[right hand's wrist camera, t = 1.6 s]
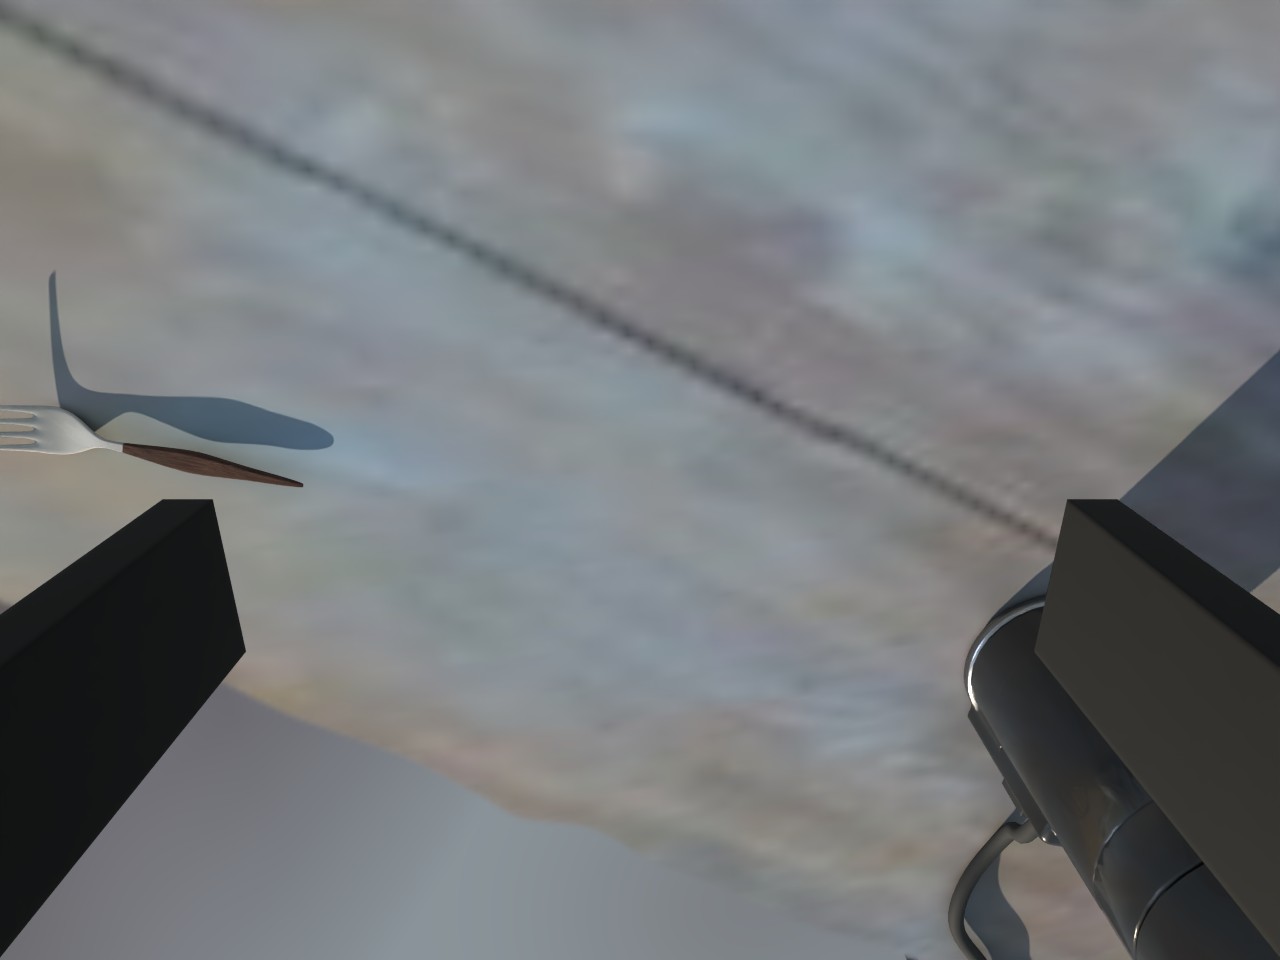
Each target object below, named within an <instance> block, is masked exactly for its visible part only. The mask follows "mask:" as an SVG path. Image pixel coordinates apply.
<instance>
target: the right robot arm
mask: <svg viewBox="0 0 1280 960" xmlns="http://www.w3.org/2000/svg"><path fill="white" fill-rule="evenodd" d="M245 652H246V650H245V645H244V640H243V636H242V631H241V627H240V622H239V618H238V613H237V608H236V604H235V599H234V595H233V590H232V586H231V581H230V576H229V572H228V567H227V563H226V558H225V553H224V549H223V544H222V540H221V535H220V531H219V526H218V521H217V517H216V512H215V508H214V503H213V499H163V500H161V501H160V502H158V503H157V504H156V505H154V506H153V507H151V508H150V509H149V510H147V511H146V512H144V513H143V514H142V515H140V516H139V517H137V518H136V519H134V520H133V521H132V522H130V523H129V524H127V525H126V526H125V527H123V528H122V529H120V530H119V531H118V532H116V533H115V534H113V535H112V536H110V537H109V538H108V539H106V540H105V541H103V542H102V543H101V544H99V545H98V546H96V547H95V548H94V549H92V550H91V551H89V552H88V553H87V554H85V555H84V556H82V557H81V558H79V559H78V560H77V561H75V562H74V563H72V564H71V565H70V566H68V567H67V568H65V569H64V570H63V571H61V572H60V573H58V574H57V575H55V576H54V577H53V578H51V579H50V580H48V581H47V582H46V583H44V584H43V585H41V586H40V587H39V588H37V589H36V590H34V591H33V592H31V593H30V594H29V595H27V596H26V597H24V598H23V599H22V600H20V601H19V602H17V603H16V604H15V605H13V606H12V607H10V608H9V609H7V610H6V611H5V612H3V613H2V614H0V957H1V956H2V954H3V953H4V952H5V951H6V949H7V948H8V947H9V946H10V944H11V943H12V942H13V941H14V939H15V938H16V937H17V936H18V934H19V933H20V932H21V931H22V930H23V928H24V927H25V926H26V925H27V923H28V922H29V921H30V920H31V918H32V917H33V916H34V915H35V913H36V912H37V911H38V910H39V908H40V907H41V906H42V905H43V903H44V902H45V901H46V900H47V898H48V897H49V896H50V895H51V893H52V892H53V891H54V890H55V888H56V887H57V886H58V885H59V883H60V882H61V881H62V880H63V878H64V877H65V876H66V875H67V873H68V872H69V871H70V870H71V869H72V867H73V866H74V865H75V863H76V862H77V861H78V860H79V859H80V857H81V856H82V855H83V854H84V852H85V851H86V850H87V849H88V847H89V846H90V845H91V844H92V842H93V841H94V840H95V839H96V837H97V836H98V835H99V834H100V832H101V831H102V830H103V829H104V827H105V826H106V825H107V824H108V822H109V821H110V820H111V819H112V818H113V816H114V815H115V814H116V812H117V811H118V810H119V809H120V808H121V806H122V805H123V804H124V803H125V801H126V800H127V799H128V798H129V796H130V795H131V794H132V793H133V791H134V790H135V789H136V788H137V786H138V785H139V784H140V783H141V781H142V780H143V779H144V778H145V776H146V775H147V774H148V773H149V771H150V770H151V769H152V768H153V767H154V765H155V764H156V763H157V761H158V760H159V759H160V758H161V757H162V755H163V754H164V753H165V752H166V750H167V749H168V748H169V747H170V745H171V744H172V743H173V742H174V740H175V739H176V738H177V737H178V735H179V734H180V733H181V732H182V730H183V729H184V728H185V727H186V725H187V724H188V723H189V722H190V720H191V719H192V718H193V717H194V716H195V714H196V713H197V712H198V710H199V709H200V708H201V707H202V706H203V704H204V703H205V702H206V701H207V699H208V698H209V697H210V696H211V694H212V693H213V692H214V691H215V689H216V688H217V687H218V686H219V684H220V683H221V682H222V681H223V679H224V678H225V677H226V676H227V674H228V673H229V672H230V671H231V669H232V668H233V667H234V666H235V664H236V663H237V662H238V661H239V660H240V658H241V657H242V656H243V655H244V653H245ZM1034 652H1035V653H1036V655H1037V656H1038V657H1039V658H1040V660H1041V661H1042V662H1043V663H1044V664H1045V666H1046V667H1047V668H1048V669H1049V671H1050V672H1051V673H1052V674H1053V676H1054V677H1055V678H1056V679H1057V681H1058V682H1059V683H1060V684H1061V686H1062V687H1063V688H1064V689H1065V691H1066V692H1067V693H1068V694H1069V696H1070V697H1071V698H1072V699H1073V701H1074V702H1075V703H1076V704H1077V706H1078V707H1079V708H1080V709H1081V711H1082V712H1083V713H1084V714H1085V716H1086V717H1087V718H1088V719H1089V720H1090V722H1091V723H1092V724H1093V725H1094V727H1095V728H1096V729H1097V730H1098V732H1099V733H1100V734H1101V735H1102V737H1103V738H1104V739H1105V740H1106V742H1107V743H1108V744H1109V745H1110V747H1111V748H1112V749H1113V750H1114V752H1115V753H1116V754H1117V755H1118V757H1119V758H1120V759H1121V760H1122V762H1123V763H1124V764H1125V765H1126V767H1127V768H1128V769H1129V770H1130V771H1131V773H1132V774H1133V775H1134V776H1135V778H1136V779H1137V780H1138V781H1139V783H1140V784H1141V785H1142V786H1143V788H1144V789H1145V790H1146V791H1147V793H1148V794H1149V795H1150V796H1151V798H1152V799H1153V800H1154V801H1155V803H1156V804H1157V805H1158V806H1159V808H1160V809H1161V810H1162V811H1163V813H1164V814H1165V815H1166V816H1167V818H1168V819H1169V820H1170V821H1171V823H1172V824H1173V825H1174V826H1175V827H1176V829H1177V830H1178V831H1179V832H1180V834H1181V835H1182V836H1183V837H1184V839H1185V840H1186V841H1187V842H1188V844H1189V845H1190V846H1191V847H1192V849H1193V850H1194V851H1195V852H1196V854H1197V855H1198V856H1199V857H1200V859H1201V860H1202V861H1203V862H1204V864H1205V865H1206V866H1207V867H1208V869H1209V870H1210V871H1211V872H1212V874H1213V875H1214V876H1215V877H1216V879H1217V880H1218V881H1219V882H1220V883H1221V885H1222V886H1223V887H1224V888H1225V890H1226V891H1227V892H1228V893H1229V895H1230V896H1231V897H1232V898H1233V900H1234V901H1235V902H1236V903H1237V905H1238V906H1239V907H1240V908H1241V910H1242V911H1243V912H1244V913H1245V915H1246V916H1247V917H1248V918H1249V920H1250V921H1251V922H1252V923H1253V925H1254V926H1255V927H1256V928H1257V930H1258V931H1259V932H1260V933H1261V934H1262V936H1263V937H1264V938H1265V939H1266V941H1267V942H1268V943H1269V944H1270V946H1271V947H1272V948H1273V949H1274V951H1275V952H1276V953H1277V954H1278V956H1279V957H1280V614H1278V613H1277V612H1275V611H1274V610H1273V609H1271V608H1270V607H1268V606H1267V605H1265V604H1264V603H1263V602H1261V601H1260V600H1258V599H1257V598H1256V597H1254V596H1253V595H1251V594H1250V593H1249V592H1247V591H1246V590H1244V589H1243V588H1241V587H1240V586H1239V585H1237V584H1236V583H1234V582H1233V581H1232V580H1230V579H1229V578H1227V577H1226V576H1225V575H1223V574H1222V573H1220V572H1219V571H1217V570H1216V569H1215V568H1213V567H1212V566H1210V565H1209V564H1208V563H1206V562H1205V561H1203V560H1202V559H1201V558H1199V557H1198V556H1196V555H1195V554H1193V553H1192V552H1191V551H1189V550H1188V549H1186V548H1185V547H1184V546H1182V545H1181V544H1179V543H1178V542H1177V541H1175V540H1174V539H1172V538H1171V537H1170V536H1168V535H1167V534H1165V533H1164V532H1162V531H1161V530H1160V529H1158V528H1157V527H1155V526H1154V525H1153V524H1151V523H1150V522H1148V521H1147V520H1146V519H1144V518H1143V517H1141V516H1140V515H1138V514H1137V513H1136V512H1134V511H1133V510H1131V509H1130V508H1129V507H1127V506H1126V505H1124V504H1123V503H1122V502H1120V501H1119V500H1117V499H1067V503H1066V508H1065V512H1064V517H1063V521H1062V526H1061V531H1060V535H1059V540H1058V544H1057V549H1056V553H1055V558H1054V563H1053V567H1052V572H1051V576H1050V581H1049V586H1048V590H1047V595H1046V599H1045V604H1044V608H1043V613H1042V618H1041V622H1040V627H1039V631H1038V636H1037V640H1036V645H1035V650H1034Z"/></svg>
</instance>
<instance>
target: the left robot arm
mask: <svg viewBox="0 0 1280 960" xmlns="http://www.w3.org/2000/svg"><path fill="white" fill-rule="evenodd" d="M1045 599H1046V596H1044V597H1038V598H1035V599H1031V600H1028V601H1025V602H1023V603H1020V604H1018V605H1016V606H1014V607H1012V608H1010V609H1008V610H1006V611H1005V612H1003V613H1002V614H1000V615H999V616H998V617H996V618H995V619H994V620H993V621H991V622H990V623H989V624H988V625H987V626H986V627H985V628H984V629H983V631H982V632H981V633H980V634H979V636H978V637H977V638H976V640H975V641H974V643H973V645H972V647H971V649H970V651H969V653H968V656H967V659H966V663H965V668H964V683H965V688H966V692H967V694H968V697H969V699H970V701H971V702H972V706H971V709H970V711H969V714H968V718H969V720H970V721H971V723H972V725H973V726H974V728H975V730H976V732H977V733H978V735H979V737H980V738H981V740H982V742H983V743H984V745H985V747H986V749H987V750H988V752H989V754H990V755H991V757H992V759H993V760H994V762H995V764H996V765H997V767H998V769H999V771H1000V772H1001V774H1002V776H1003V777H1004V780H1003V782H1002V784H1003V786H1004V788H1005V789H1006V791H1007V793H1008V795H1009V796H1010V798H1011V800H1012V801H1013V803H1014V805H1015V807H1016V808H1017V810H1018V812H1019V814H1020V815H1021V816H1027V818H1028V820H1027V821H1026V822H1025V823H1024V824H1022V825H1020V824H1018V823H1016V822H1010V823H1006V824H1005V825H1004V826H1003V827H1001V828H1000V829H999V830H998V831H997V832H996V833H995V834H994V835H993V836H992V838H991V839H990V840H989V841H988V842H987V843H986V844H985V845H984V846H983V847H982V849H981V850H980V851H979V852H978V853H977V855H976V856H975V857H974V858H973V860H972V861H971V862H970V864H969V865H968V867H967V868H966V870H965V871H964V873H963V875H962V876H961V878H960V880H959V882H958V884H957V886H956V888H955V891H954V893H953V895H952V899H951V902H950V907H949V912H948V922H949V927H950V930H951V933H952V935H953V938H954V940H955V942H956V943H957V945H958V947H959V948H960V949H961V951H962V952H963V953H964V954H965V956H966V957H967V958H968V959H969V960H987V959H986V958H985V957H984V955H983V954H982V953H981V952H980V950H979V949H978V948H977V947H976V946H975V944H974V943H973V942H972V940H971V939H970V938H969V936H968V935H967V933H966V931H965V927H964V913H965V908H966V905H967V901H968V899H969V897H970V894H971V892H972V890H973V888H974V886H975V885H976V883H977V881H978V880H979V878H980V877H981V875H982V874H983V873H984V871H985V870H986V869H987V867H988V866H989V865H990V864H991V863H992V861H993V860H994V859H995V858H996V857H997V856H998V855H999V854H1000V853H1001V852H1002V851H1003V850H1004V849H1005V848H1006V847H1007V846H1008V845H1009V844H1010V843H1011V842H1012V841H1013V840H1015V841H1017V842H1019V843H1029V842H1031V841H1033V840H1034V839H1035V838H1037V837H1039V838H1040V839H1041V840H1042V841H1044V842H1045V843H1047V844H1050V845H1055V846H1061V847H1063V849H1064V850H1065V852H1066V854H1067V855H1068V857H1069V858H1070V860H1071V862H1072V863H1073V865H1074V867H1075V868H1076V870H1077V871H1078V873H1079V875H1080V876H1081V878H1082V880H1083V881H1084V883H1085V884H1086V886H1087V888H1088V889H1089V891H1090V892H1091V894H1092V896H1093V897H1094V899H1095V901H1096V902H1097V904H1098V905H1099V907H1100V909H1101V910H1102V911H1103V913H1104V915H1105V916H1106V918H1107V920H1108V921H1109V923H1110V924H1111V926H1112V928H1113V929H1114V931H1115V933H1116V934H1117V936H1118V937H1119V939H1120V941H1121V942H1122V944H1123V946H1124V947H1125V949H1126V950H1127V952H1128V954H1129V955H1130V957H1131V959H1132V960H1280V957H1279V956H1278V954H1277V953H1276V952H1275V951H1274V949H1273V948H1272V947H1271V946H1270V944H1269V943H1268V942H1267V941H1266V939H1265V938H1264V937H1263V936H1262V934H1261V933H1260V932H1259V931H1258V930H1257V928H1256V927H1255V926H1254V925H1253V923H1252V922H1251V921H1250V920H1249V918H1248V917H1247V916H1246V915H1245V913H1244V912H1243V911H1242V910H1241V908H1240V907H1239V906H1238V905H1237V903H1236V902H1235V901H1234V900H1233V898H1232V897H1231V896H1230V895H1229V893H1228V892H1227V891H1226V890H1225V888H1224V887H1223V886H1222V885H1221V883H1220V882H1219V881H1218V880H1217V879H1216V877H1215V876H1214V875H1213V874H1212V872H1211V871H1210V870H1209V869H1208V867H1207V866H1206V865H1205V864H1204V862H1203V861H1202V860H1201V859H1200V857H1199V856H1198V855H1197V854H1196V852H1195V851H1194V850H1193V849H1192V847H1191V846H1190V845H1189V844H1188V842H1187V841H1186V840H1185V839H1184V837H1183V836H1182V835H1181V834H1180V832H1179V831H1178V830H1177V829H1176V827H1175V826H1174V825H1173V824H1172V823H1171V821H1170V820H1169V819H1168V818H1167V816H1166V815H1165V814H1164V813H1163V811H1162V810H1161V809H1160V808H1159V806H1158V805H1157V804H1156V803H1155V801H1154V800H1153V799H1152V798H1151V796H1150V795H1149V794H1148V793H1147V791H1146V790H1145V789H1144V788H1143V786H1142V785H1141V784H1140V783H1139V781H1138V780H1137V779H1136V778H1135V776H1134V775H1133V774H1132V773H1131V771H1130V770H1129V769H1128V768H1127V767H1126V765H1125V764H1124V763H1123V762H1122V760H1121V759H1120V758H1119V757H1118V755H1117V754H1116V753H1115V752H1114V750H1113V749H1112V748H1111V747H1110V745H1109V744H1108V743H1107V742H1106V740H1105V739H1104V738H1103V737H1102V735H1101V734H1100V733H1099V732H1098V730H1097V729H1096V728H1095V727H1094V725H1093V724H1092V723H1091V722H1090V720H1089V719H1088V718H1087V717H1086V716H1085V714H1084V713H1083V712H1082V711H1081V709H1080V708H1079V707H1078V706H1077V704H1076V703H1075V702H1074V701H1073V699H1072V698H1071V697H1070V696H1069V694H1068V693H1067V692H1066V691H1065V689H1064V688H1063V687H1062V686H1061V684H1060V683H1059V682H1058V681H1057V679H1056V678H1055V677H1054V676H1053V674H1052V673H1051V672H1050V671H1049V669H1048V668H1047V667H1046V666H1045V664H1044V663H1043V662H1042V661H1041V660H1040V658H1039V657H1038V656H1037V655H1036V653H1035V652H1034V650H1035V645H1036V640H1037V636H1038V631H1039V627H1040V622H1041V618H1042V613H1043V608H1044V604H1045ZM906 960H914V959H912V958H907V957H906Z"/></svg>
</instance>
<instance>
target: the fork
mask: <svg viewBox="0 0 1280 960" xmlns="http://www.w3.org/2000/svg"><path fill="white" fill-rule="evenodd" d="M0 411H13V412H25V413H30V414H33V415H34V417H32V418H26V419H0V424H11V425H24V426H31V427H33V428H34V430H33V431H27V432H0V437H12V438H26V439H32V440H34V441H35V443H33V444H23V445H0V450H16V451H32V452H42V453H50V454H73V453H79V452H82V451H86V450H89V449H92V448H99V447H102V448H108V449H112V450H116V451H119V452H123V453H126V454H129V455H132V456H135V457H138V458H141V459H144V460H148V461H151V462H154V463H157V464H160V465H163V466H166V467H170V468H173V469H176V470H180V471H184V472H188V473H193V474H199V475H206V476H213V477H222V478H231V479H239V480H247V481H254V482H262V483H269V484H276V485H284V486H293V487H303V484H302V483H300V482H297V481H294V480H291V479H288V478H285V477H281V476H278V475H274V474H271V473H267V472H264V471H260V470H256V469H253V468H249V467H246V466H243V465H239V464H236V463H233V462H230V461H227V460H223V459H220V458H217V457H214V456H210V455H207V454H203V453H199V452H195V451H189V450H183V449H175V448H167V447H158V446H148V445H139V444H130V443H121V442H114V441H109V440H106V439H104V438H102V437H100V436H99V435H97V434H96V433H95V432H94V431H93V430H91V429H90V428H89V427H88V426H87V425H86V424H85V423H84V422H83V421H82V420H81V419H79V418H78V417H77V416H75V415H74V414H72V413H71V412H69V411H67V410H65V409H62V408H58V407H53V406H13V405H5V406H0Z"/></svg>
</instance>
